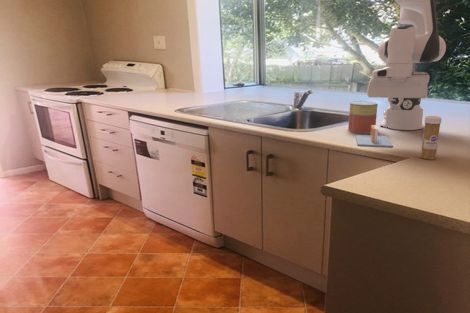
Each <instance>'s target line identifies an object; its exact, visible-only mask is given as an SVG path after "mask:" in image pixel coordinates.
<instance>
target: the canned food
mask: <svg viewBox="0 0 470 313" xmlns="http://www.w3.org/2000/svg"><path fill="white" fill-rule="evenodd" d="M378 105H379V103H378V102H376V101H366V100H365V101H364V100H362V101H361V100H358V101H350V102H349V114H348V128H347V131H348V130H349V131H348V132H350V131H351V133H357V134H370V132H371V125H376V126H377V114H378Z"/></svg>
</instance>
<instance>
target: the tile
mask: <svg viewBox="0 0 470 313" xmlns="http://www.w3.org/2000/svg"><path fill="white" fill-rule="evenodd" d="M369 135H370V139H371V142H375V143H377V136H379V127H378V126H377V124H376V125H371V132H370V133H369Z"/></svg>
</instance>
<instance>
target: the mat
mask: <svg viewBox="0 0 470 313" xmlns="http://www.w3.org/2000/svg"><path fill="white" fill-rule="evenodd" d="M355 141H356V145H357V146H359V147H376V148H379V147H380V148H393V147H394V146H393V145H394V144H393V143H392V142H391V140H390V138H389V137H388V135H378V136H377V143H375V142H371V139H370V134H369V135H368V134H355Z"/></svg>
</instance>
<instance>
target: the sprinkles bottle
mask: <svg viewBox="0 0 470 313" xmlns="http://www.w3.org/2000/svg"><path fill="white" fill-rule="evenodd" d="M441 123H442V117H441V116H438V115H437V116H436V115H427V116H425V117H424V125H425V127H424V128H423V132H422V134H423V135H422V141H421V152H420V156H419V157H420V158H421V159H424V160H435V159H437V149H438V145H439V136H440V129H441Z"/></svg>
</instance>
